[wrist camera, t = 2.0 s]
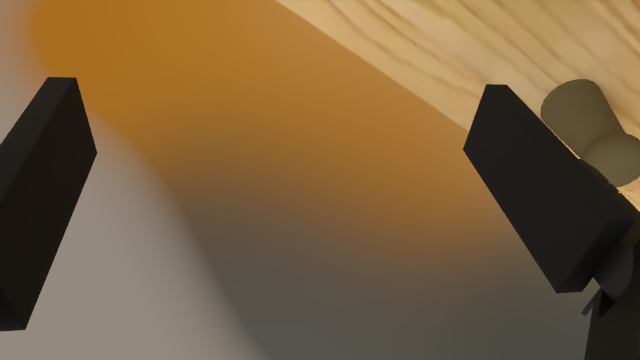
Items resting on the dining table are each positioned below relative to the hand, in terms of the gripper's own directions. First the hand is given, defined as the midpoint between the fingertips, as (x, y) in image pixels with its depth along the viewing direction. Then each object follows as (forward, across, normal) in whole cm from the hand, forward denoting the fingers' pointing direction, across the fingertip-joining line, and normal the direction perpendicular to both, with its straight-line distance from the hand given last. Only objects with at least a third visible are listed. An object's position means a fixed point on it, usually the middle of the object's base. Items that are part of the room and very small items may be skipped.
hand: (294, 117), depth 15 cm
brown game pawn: (+25, +32, -14) cm, 43 cm away
